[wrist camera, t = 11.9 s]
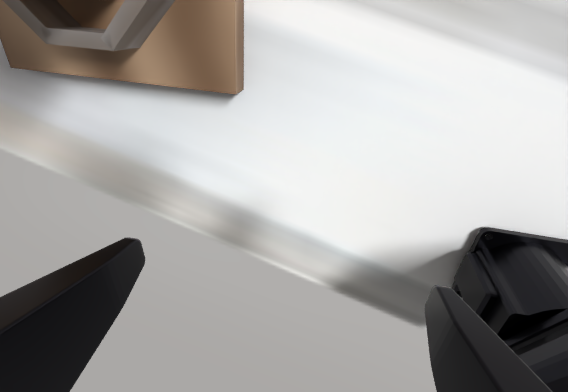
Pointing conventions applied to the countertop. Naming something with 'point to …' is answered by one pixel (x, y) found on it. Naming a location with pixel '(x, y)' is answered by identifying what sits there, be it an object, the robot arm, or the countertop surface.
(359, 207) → the countertop surface
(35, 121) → the countertop surface
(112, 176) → the countertop surface
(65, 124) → the countertop surface
